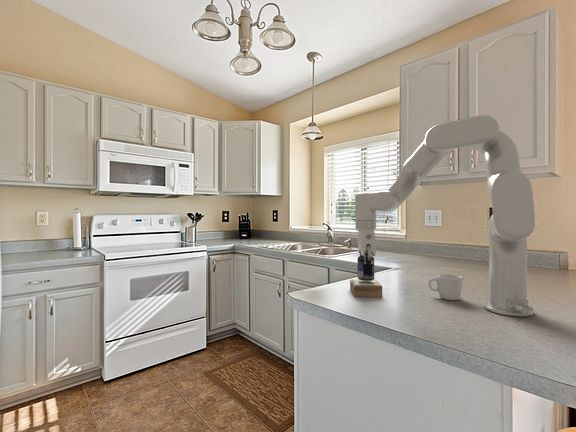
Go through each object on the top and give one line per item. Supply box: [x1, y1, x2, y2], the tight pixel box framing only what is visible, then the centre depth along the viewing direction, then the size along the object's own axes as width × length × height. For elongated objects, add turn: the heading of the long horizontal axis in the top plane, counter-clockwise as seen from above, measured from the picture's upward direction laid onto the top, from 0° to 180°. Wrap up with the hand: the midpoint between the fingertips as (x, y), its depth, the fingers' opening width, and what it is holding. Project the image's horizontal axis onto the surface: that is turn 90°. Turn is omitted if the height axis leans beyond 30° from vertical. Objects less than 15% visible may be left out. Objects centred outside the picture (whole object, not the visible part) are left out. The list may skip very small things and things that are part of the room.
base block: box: [349, 279, 383, 298], centre depth 115 cm, size 10×10×4 cm
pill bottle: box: [357, 250, 375, 281], centre depth 115 cm, size 6×6×11 cm
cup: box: [428, 273, 464, 301], centre depth 108 cm, size 11×8×8 cm
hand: (366, 272), depth 115 cm, fingers closed on pill bottle, 6 cm apart
